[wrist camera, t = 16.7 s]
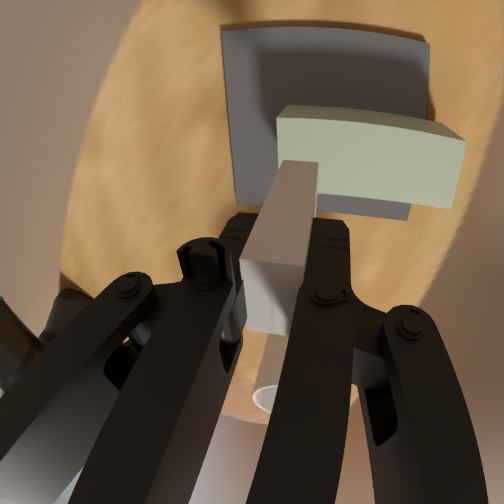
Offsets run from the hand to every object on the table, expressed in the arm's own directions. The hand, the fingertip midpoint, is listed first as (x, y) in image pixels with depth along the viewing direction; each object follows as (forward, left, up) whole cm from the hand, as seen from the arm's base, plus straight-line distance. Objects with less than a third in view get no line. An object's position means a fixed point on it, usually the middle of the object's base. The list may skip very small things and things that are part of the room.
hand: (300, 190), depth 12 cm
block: (-2, 0, -7) cm, 7 cm away
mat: (+1, +1, -9) cm, 10 cm away
